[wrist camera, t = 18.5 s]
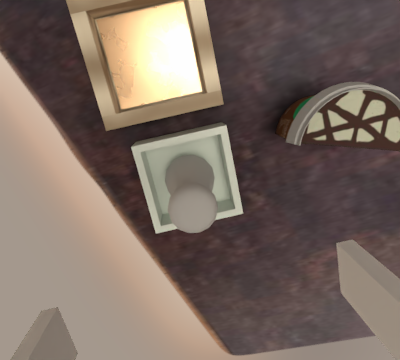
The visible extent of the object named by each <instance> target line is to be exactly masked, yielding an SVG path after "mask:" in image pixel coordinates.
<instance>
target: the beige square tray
mask: <svg viewBox="0 0 400 360" xmlns="http://www.w3.org/2000/svg"><path fill="white" fill-rule="evenodd" d="M178 1H182V0H66V2H67V5H68V8H69V12H70V15H71V18H72V21H73V25H74V28H75V31H76V34H77V38H78V41H79V44H80V47H81V51H82V54H83V57H84V60H85V64H86V67H87V70H88V73H89V77H90V80H91V83H92V86H93V90H94V93H95V96H96V99H97V103H98V106H99V109H100V112H101V116H102V119H103V122H104V125H105V129H106V131H108V130H113V129H117V128H121V127H126V126H130V125H135V124H139V123H143V122H148V121H152V120H157V119H161V118H165V117H170V116H174V115H179V114H183V113H187V112H192V111H196V110H200V109H205V108H209V107H214V106H218V105H222V104H224V103H223V98H222V93H221V87H220V82H219V77H218V72H217V66H216V61H215V56H214V50H213V45H212V40H211V34H210V29H209V24H208V19H207V13H206V8H205V3H204V0H183V1H184V5H185V10H186V15H187V20H188V25H189V30H190V34H191V39H192V44H193V49H194V54H195V59H196V63H197V68H198V73H199V78H200V83H201V88H202V92H197V93H193V94H188V95H184V96H180V97H175V98H171V99H166V100H162V101H158V102H153V103H149V104H144V105H140V106H136V107H131V108H127V109H122V108H121V105H120V101H119V98H118V94H117V91H116V87H115V84H114V80H113V77H112V73H111V70H110V66H109V63H108V59H107V56H106V52H105V49H104V45H103V42H102V38H101V35H100V31H99V28H98V24H97V21H96V20H98V19H103V18H107V17H111V16H116V15H120V14H125V13H129V12H134V11H138V10H142V9H147V8H151V7H156V6H160V5H164V4H169V3H173V2H178Z"/></svg>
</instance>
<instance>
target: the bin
mask: <svg viewBox="0 0 400 360" xmlns="http://www.w3.org/2000/svg"><path fill="white" fill-rule="evenodd" d="M131 149H132V152H133V155H134V159H135V162H136V166H137V169H138V173H139V176H140V180H141V183H142V187H143V190H144V194H145V197H146V201H147V204H148V208H149V211H150V215H151V218H152V221H153V225H154V228H155V232H156V233H161V232H165V231H170V230H174V229H178V228H177V227H176V226H175V225H174V224H173V223H172V221H171V218H170V215H169V213H168V205H169V199H170V196H171V195H170V194H169V192H168V189H167V186H166V183H165V176H166V170H167V169H168V167H169V166H170V164H171V163H172V161H173V160H175V159H177V158H179V157H181V156H182V155H196V156H198V157H201V158H203V159H205V160H206V161H207V162H208V163H209V164H210V165H211V166H212V169H213V173H214V177H215V179H214V185H213V190H212V193H213V194H214V195H215V197H216V201H217V205H218V210H217V215H216V219H215V220H217V219H222V218H226V217H231V216H235V215H239V214H243V210H242V204H241V199H240V194H239V189H238V183H237V178H236V173H235V168H234V162H233V157H232V152H231V147H230V141H229V136H228V131H227V126H226V125H225V124H224V123H222V122H220V123H216V124H211V125H207V126H202V127H198V128H194V129H189V130H185V131H180V132H176V133H172V134H167V135H163V136H159V137H154V138H150V139H145V140H141V141H137V142H135V143H134V144H133V145H132V146H131Z"/></svg>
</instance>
